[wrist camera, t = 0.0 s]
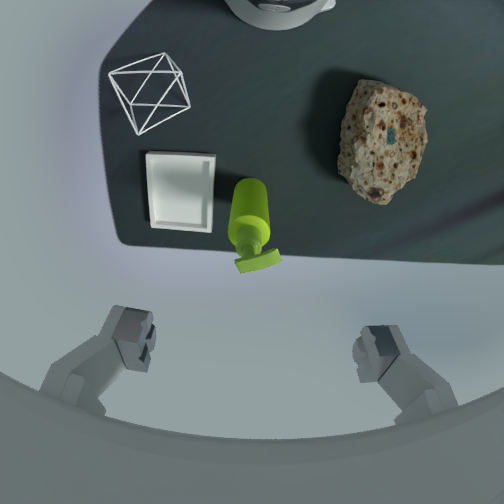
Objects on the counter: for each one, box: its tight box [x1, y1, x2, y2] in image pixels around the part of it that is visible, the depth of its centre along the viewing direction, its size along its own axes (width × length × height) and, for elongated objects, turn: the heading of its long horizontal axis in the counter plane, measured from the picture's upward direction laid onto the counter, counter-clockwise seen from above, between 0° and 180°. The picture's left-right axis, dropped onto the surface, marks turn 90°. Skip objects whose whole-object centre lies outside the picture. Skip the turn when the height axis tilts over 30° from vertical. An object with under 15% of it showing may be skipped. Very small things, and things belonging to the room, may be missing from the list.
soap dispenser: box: [228, 178, 282, 273], centre depth 41 cm, size 6×7×20 cm
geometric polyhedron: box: [108, 53, 191, 135], centre depth 33 cm, size 12×11×9 cm
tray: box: [146, 151, 216, 233], centre depth 47 cm, size 15×12×2 cm
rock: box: [337, 79, 428, 205], centre depth 39 cm, size 21×14×10 cm
